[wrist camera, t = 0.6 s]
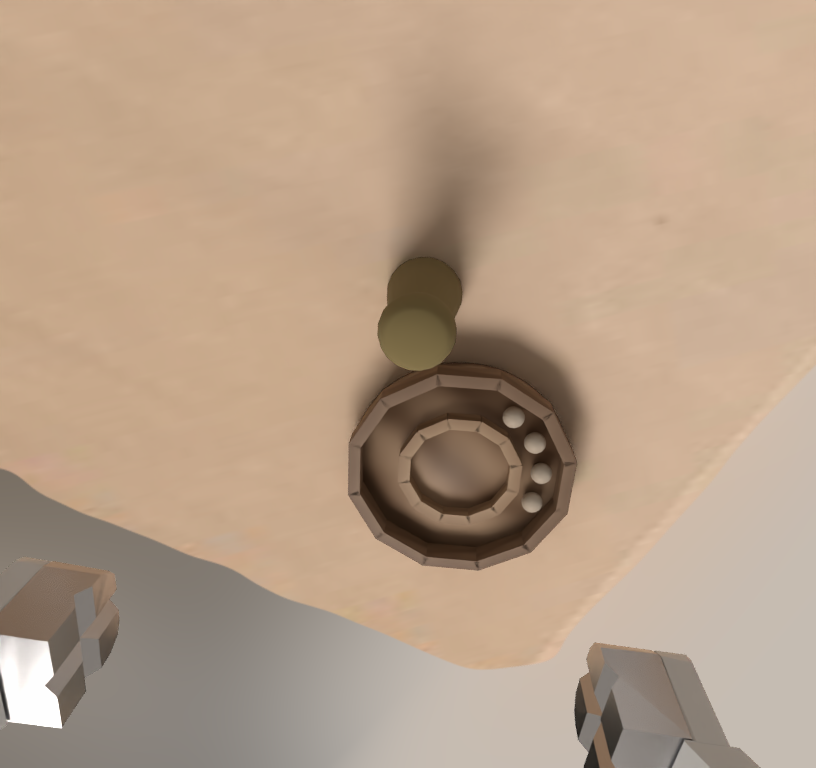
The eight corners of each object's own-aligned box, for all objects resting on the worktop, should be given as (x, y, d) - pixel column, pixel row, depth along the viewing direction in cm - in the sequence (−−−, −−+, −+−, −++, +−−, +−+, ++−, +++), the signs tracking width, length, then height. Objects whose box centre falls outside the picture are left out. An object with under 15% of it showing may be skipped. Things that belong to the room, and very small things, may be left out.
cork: (460, 253, 47) (460, 290, 37) (464, 328, 49) (466, 381, 39) (382, 260, 47) (362, 297, 37) (391, 333, 50) (373, 386, 40)
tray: (429, 319, 49) (427, 331, 46) (613, 438, 52) (621, 456, 49) (316, 481, 56) (309, 500, 53) (483, 578, 59) (484, 600, 56)
